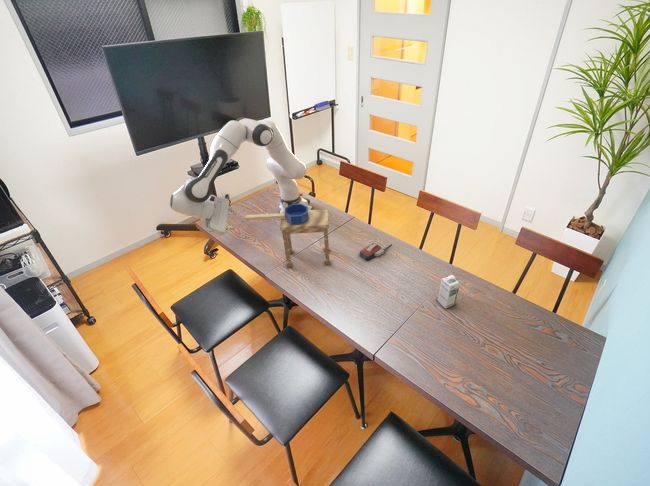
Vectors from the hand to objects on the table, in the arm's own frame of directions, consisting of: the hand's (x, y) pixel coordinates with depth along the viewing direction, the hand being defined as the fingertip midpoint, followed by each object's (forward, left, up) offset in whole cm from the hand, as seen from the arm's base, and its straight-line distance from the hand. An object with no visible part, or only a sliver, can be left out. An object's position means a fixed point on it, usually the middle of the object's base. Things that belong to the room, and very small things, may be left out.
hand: (235, 220), depth 164 cm
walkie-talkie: (-33, +63, -24) cm, 75 cm away
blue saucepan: (-7, +21, +2) cm, 22 cm away
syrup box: (-12, +106, -24) cm, 110 cm away
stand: (-13, +32, -24) cm, 42 cm away
